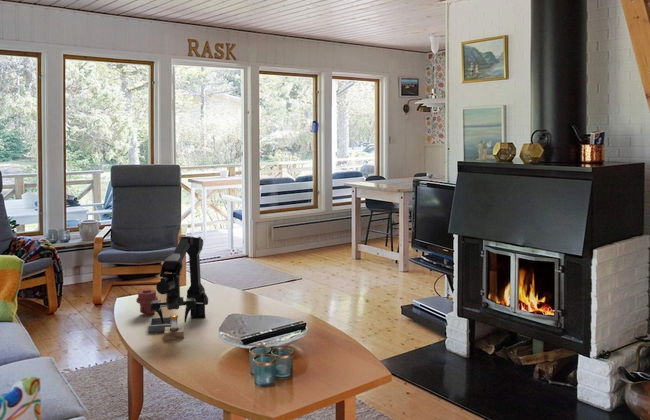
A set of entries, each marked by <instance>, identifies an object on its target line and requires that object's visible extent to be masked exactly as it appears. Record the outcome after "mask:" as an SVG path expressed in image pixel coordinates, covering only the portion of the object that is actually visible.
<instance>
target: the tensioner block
mask: <svg viewBox="0 0 650 420" xmlns="http://www.w3.org/2000/svg"><path fill="white" fill-rule="evenodd" d="M177 326H178V331H171V327H165V332H164V340H165V341H168V340H179V339H181V340H182V339H185V328H184V325H177Z"/></svg>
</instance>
